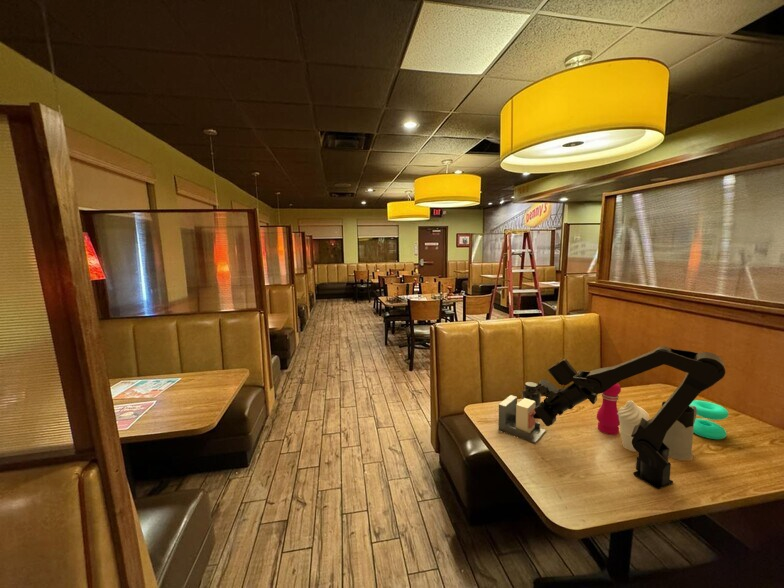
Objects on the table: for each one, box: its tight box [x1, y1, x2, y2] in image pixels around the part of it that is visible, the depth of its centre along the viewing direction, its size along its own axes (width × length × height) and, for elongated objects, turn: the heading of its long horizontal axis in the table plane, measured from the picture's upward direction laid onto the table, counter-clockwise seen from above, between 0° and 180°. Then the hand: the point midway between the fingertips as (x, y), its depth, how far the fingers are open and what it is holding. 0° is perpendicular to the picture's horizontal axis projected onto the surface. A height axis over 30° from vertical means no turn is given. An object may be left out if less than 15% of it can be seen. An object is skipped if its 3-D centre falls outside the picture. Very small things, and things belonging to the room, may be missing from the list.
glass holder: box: [661, 400, 697, 461], centre depth 99 cm, size 9×14×15 cm, turn 111°
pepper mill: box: [596, 382, 622, 436], centre depth 111 cm, size 7×7×20 cm
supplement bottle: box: [521, 381, 542, 408], centre depth 125 cm, size 7×7×12 cm
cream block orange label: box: [516, 398, 537, 433], centre depth 111 cm, size 5×7×10 cm, turn 136°
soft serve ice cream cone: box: [617, 400, 651, 453], centre depth 101 cm, size 8×8×16 cm
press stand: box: [497, 394, 547, 445], centre depth 113 cm, size 13×10×10 cm
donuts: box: [689, 399, 729, 440], centre depth 108 cm, size 10×10×10 cm
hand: (534, 417), depth 110 cm, fingers closed, pressing on cream block orange label
